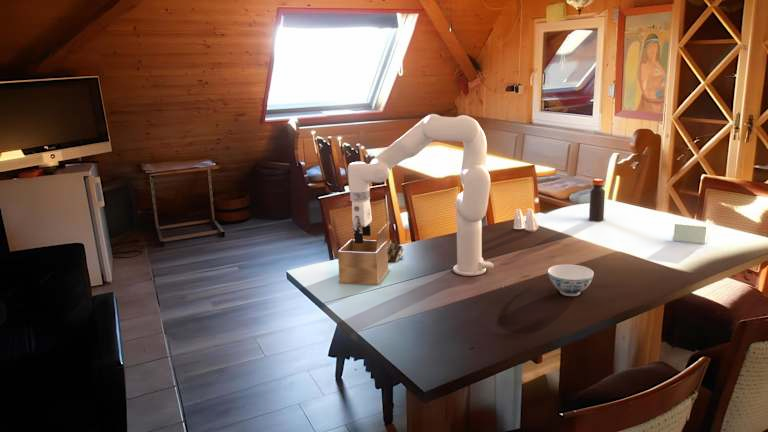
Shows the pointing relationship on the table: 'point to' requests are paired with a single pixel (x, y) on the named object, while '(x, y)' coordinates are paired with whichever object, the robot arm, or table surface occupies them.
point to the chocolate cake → (394, 252)
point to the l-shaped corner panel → (691, 233)
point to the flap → (382, 236)
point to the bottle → (597, 201)
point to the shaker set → (530, 221)
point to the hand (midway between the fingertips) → (362, 239)
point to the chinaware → (570, 278)
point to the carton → (362, 262)
